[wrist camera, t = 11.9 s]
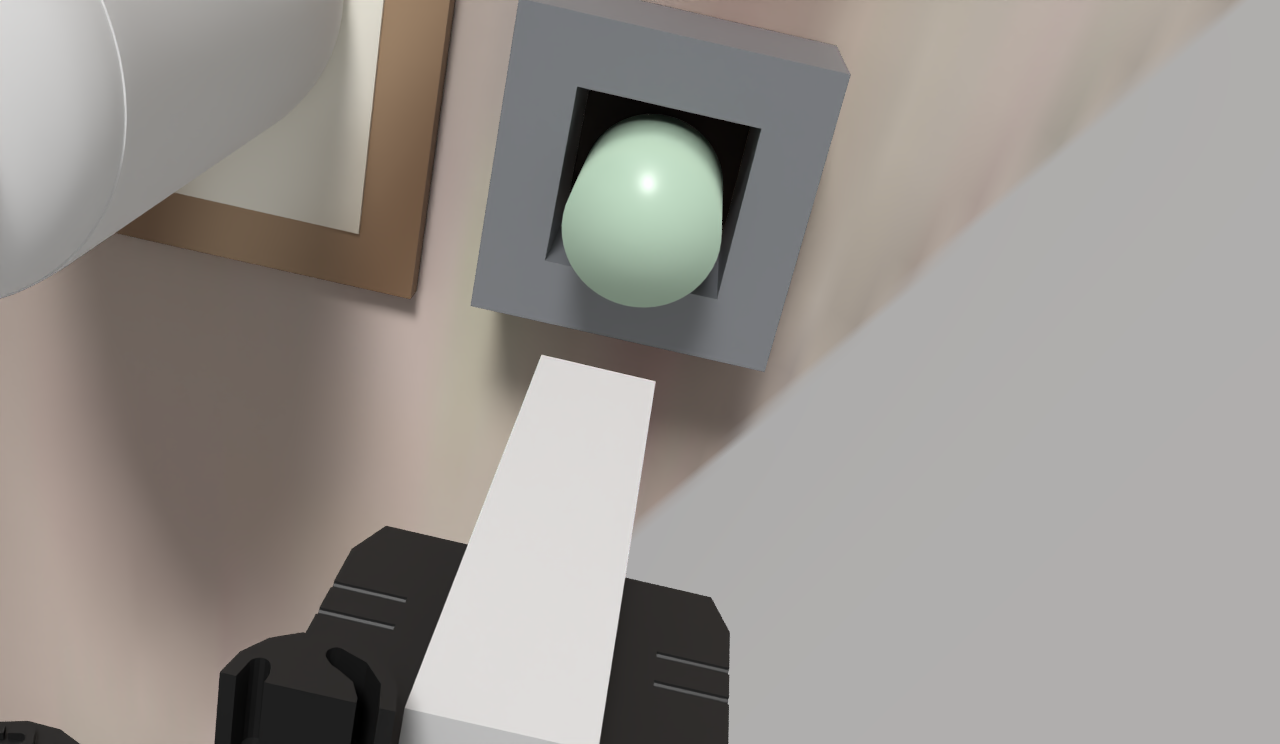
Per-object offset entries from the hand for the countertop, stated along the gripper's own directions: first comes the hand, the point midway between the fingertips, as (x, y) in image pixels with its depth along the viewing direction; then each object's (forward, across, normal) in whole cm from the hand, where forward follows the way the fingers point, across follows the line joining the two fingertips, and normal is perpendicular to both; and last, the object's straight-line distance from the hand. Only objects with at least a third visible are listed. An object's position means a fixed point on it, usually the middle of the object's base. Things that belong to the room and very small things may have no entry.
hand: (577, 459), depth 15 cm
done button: (+12, 0, 0) cm, 12 cm away
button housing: (+15, 0, 0) cm, 15 cm away
